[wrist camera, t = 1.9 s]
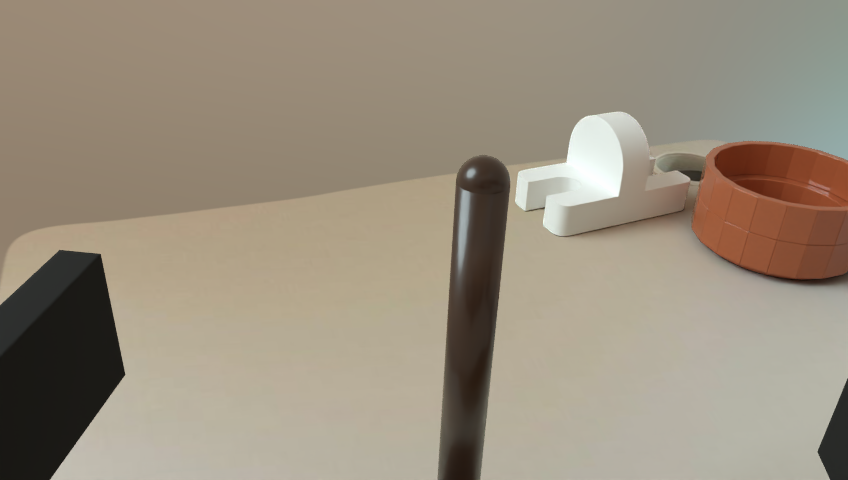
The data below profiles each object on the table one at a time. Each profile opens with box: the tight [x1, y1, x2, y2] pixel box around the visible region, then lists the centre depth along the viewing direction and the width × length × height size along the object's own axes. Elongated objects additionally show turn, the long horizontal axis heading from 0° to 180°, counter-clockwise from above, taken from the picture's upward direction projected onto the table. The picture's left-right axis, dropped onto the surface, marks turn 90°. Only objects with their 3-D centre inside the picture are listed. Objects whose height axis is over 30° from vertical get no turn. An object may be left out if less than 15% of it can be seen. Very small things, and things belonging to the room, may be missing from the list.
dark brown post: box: [438, 155, 510, 480], centre depth 27 cm, size 5×5×19 cm
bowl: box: [691, 141, 848, 279], centre depth 56 cm, size 12×12×6 cm
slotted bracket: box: [515, 112, 690, 236], centre depth 61 cm, size 13×7×8 cm, turn 116°
